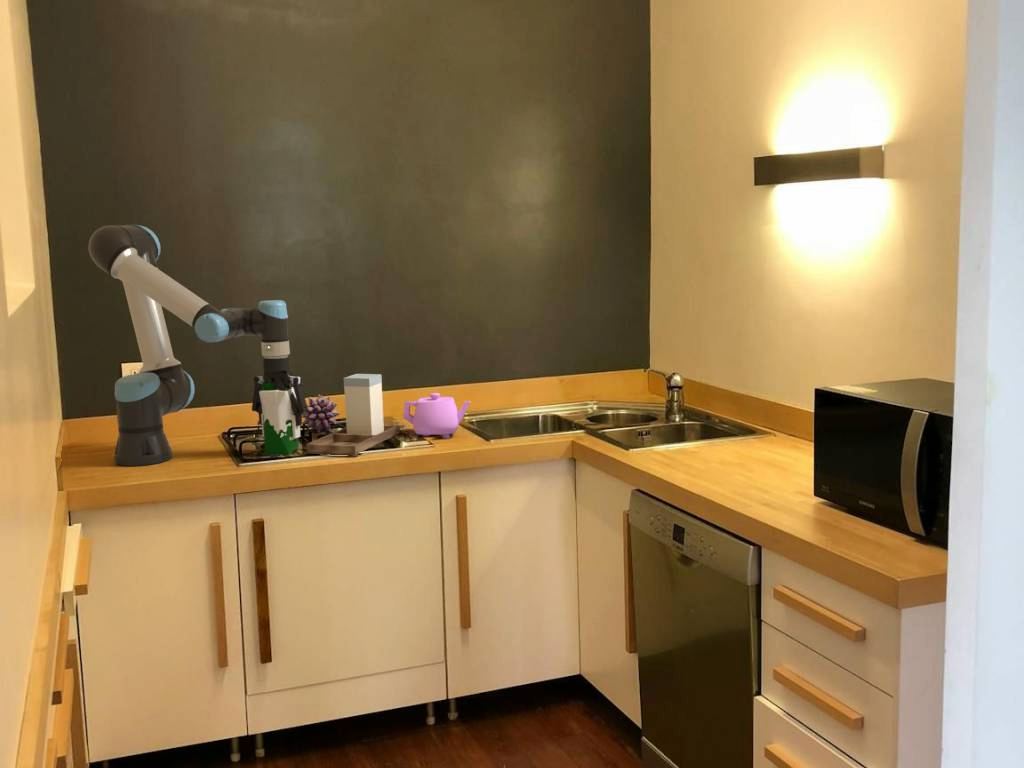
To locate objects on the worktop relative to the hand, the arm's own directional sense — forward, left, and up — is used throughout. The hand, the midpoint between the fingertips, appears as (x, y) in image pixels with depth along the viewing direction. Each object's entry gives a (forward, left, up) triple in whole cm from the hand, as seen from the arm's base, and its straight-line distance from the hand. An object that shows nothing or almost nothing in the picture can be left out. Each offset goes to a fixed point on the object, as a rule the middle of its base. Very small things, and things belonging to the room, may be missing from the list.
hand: (281, 436), depth 296 cm
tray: (+16, +13, -4) cm, 21 cm away
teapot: (+35, +29, -5) cm, 46 cm away
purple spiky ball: (-2, +26, -5) cm, 27 cm away
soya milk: (0, 0, -5) cm, 5 cm away
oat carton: (+16, +20, -4) cm, 26 cm away
